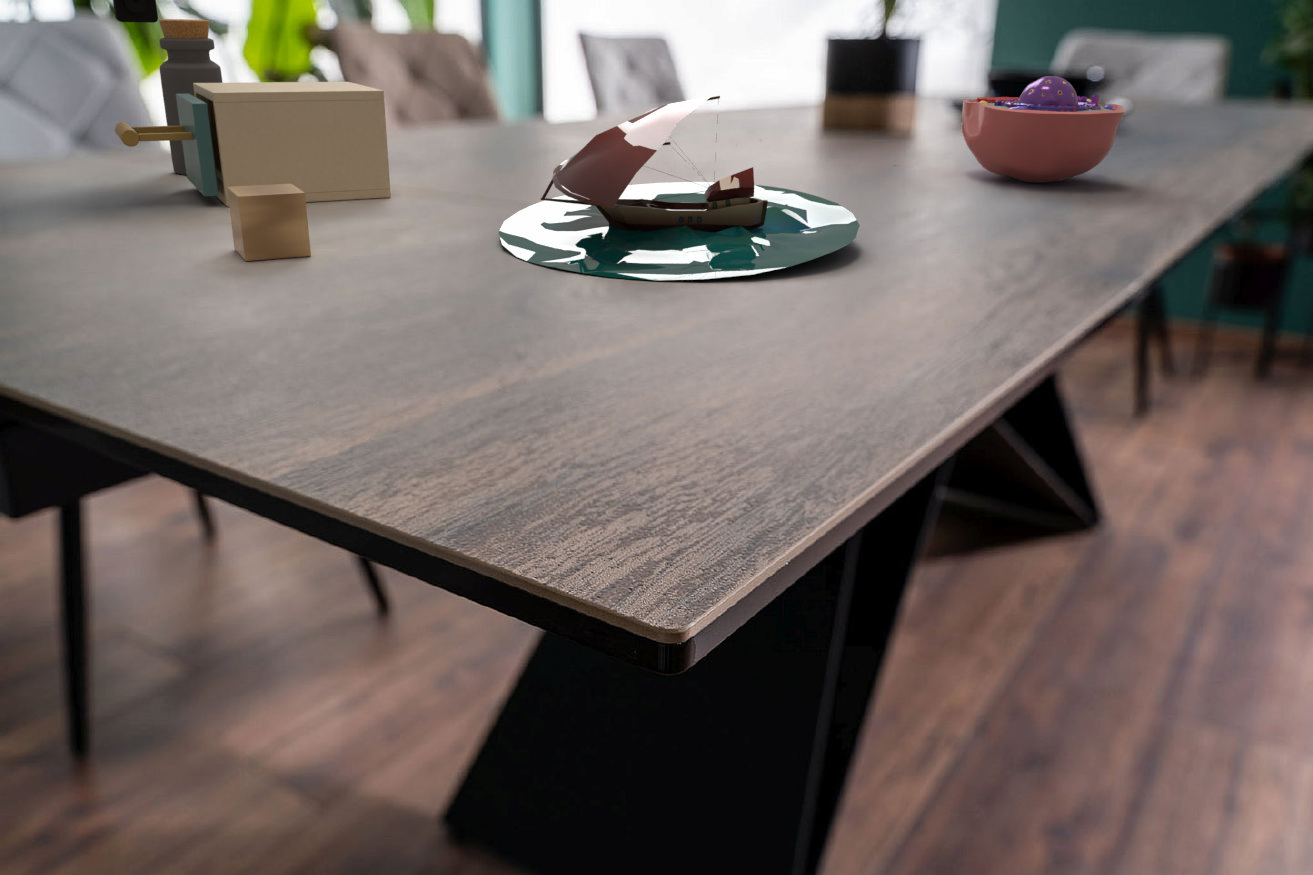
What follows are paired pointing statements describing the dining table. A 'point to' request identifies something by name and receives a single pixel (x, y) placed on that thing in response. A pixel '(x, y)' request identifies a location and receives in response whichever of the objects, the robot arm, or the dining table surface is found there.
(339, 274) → the dining table surface
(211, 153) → the drawer
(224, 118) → the cabinet
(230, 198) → the block
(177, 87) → the bottle
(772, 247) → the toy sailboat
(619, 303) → the dining table surface
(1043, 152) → the cell model
